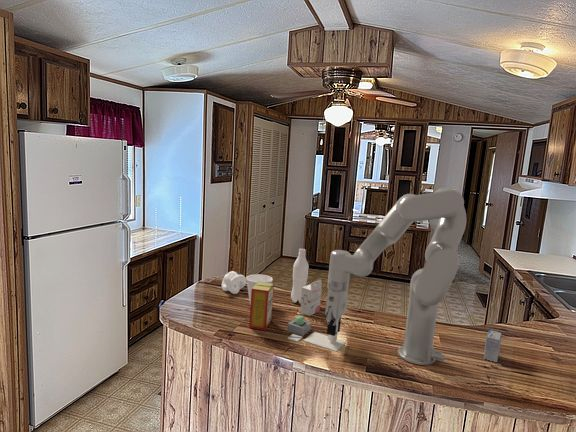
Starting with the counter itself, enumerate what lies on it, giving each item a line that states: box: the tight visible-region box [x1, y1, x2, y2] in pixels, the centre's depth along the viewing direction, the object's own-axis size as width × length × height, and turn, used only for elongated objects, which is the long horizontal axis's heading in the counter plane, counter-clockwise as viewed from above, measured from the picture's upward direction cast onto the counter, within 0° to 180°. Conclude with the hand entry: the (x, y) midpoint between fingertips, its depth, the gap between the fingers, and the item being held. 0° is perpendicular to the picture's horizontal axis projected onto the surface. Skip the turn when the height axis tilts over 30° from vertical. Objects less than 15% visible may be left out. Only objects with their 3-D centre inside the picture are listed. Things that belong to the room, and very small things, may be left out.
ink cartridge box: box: [299, 279, 323, 317], centre depth 173 cm, size 9×5×15 cm, turn 143°
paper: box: [303, 331, 347, 352], centre depth 146 cm, size 13×9×1 cm
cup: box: [245, 273, 274, 306], centre depth 176 cm, size 12×12×12 cm
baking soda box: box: [248, 282, 275, 331], centre depth 156 cm, size 10×6×16 cm
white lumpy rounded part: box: [221, 270, 247, 295], centre depth 192 cm, size 11×12×9 cm
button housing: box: [286, 317, 312, 337], centre depth 154 cm, size 7×7×3 cm
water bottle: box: [290, 248, 310, 304], centre depth 183 cm, size 7×7×25 cm
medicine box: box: [483, 329, 503, 363], centre depth 144 cm, size 8×4×9 cm, turn 148°
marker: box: [327, 315, 339, 341], centre depth 145 cm, size 3×3×12 cm
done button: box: [295, 314, 306, 326], centre depth 154 cm, size 3×3×4 cm
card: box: [287, 333, 303, 343], centre depth 147 cm, size 4×4×1 cm
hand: (333, 332), depth 146 cm, fingers closed on marker, 3 cm apart
